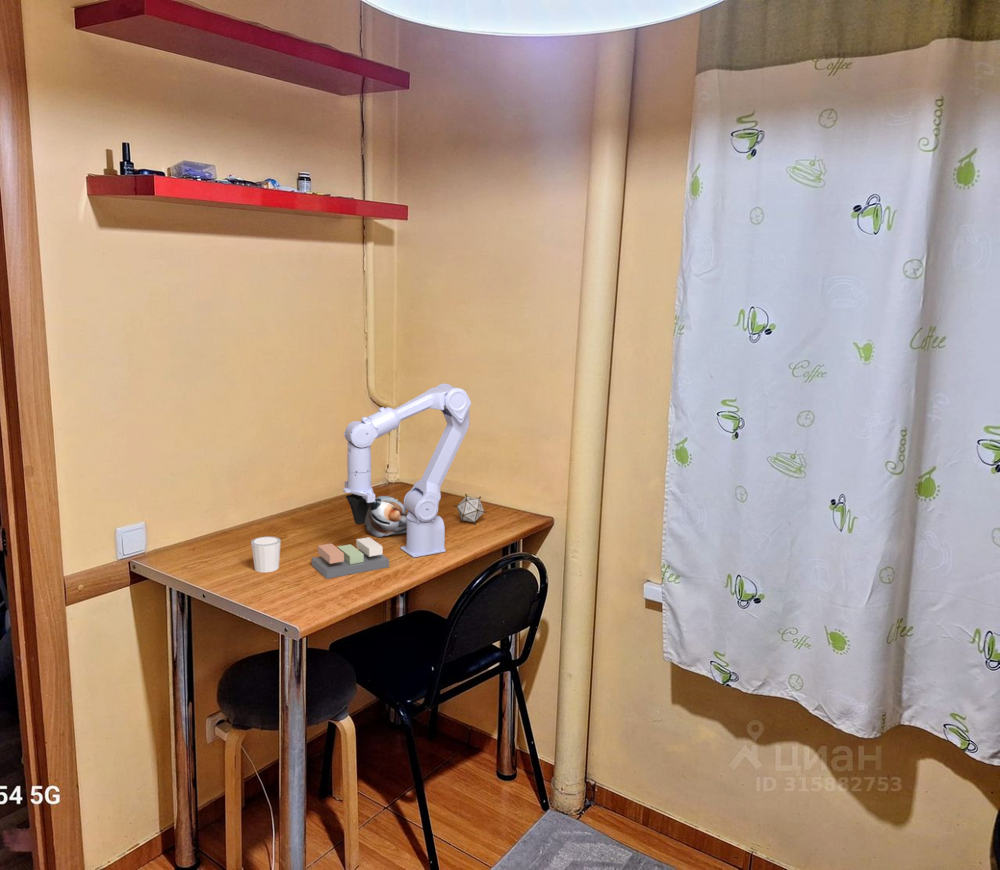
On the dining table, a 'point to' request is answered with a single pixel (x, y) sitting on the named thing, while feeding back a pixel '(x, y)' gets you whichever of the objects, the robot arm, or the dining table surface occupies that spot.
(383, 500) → the lucky cat figurine
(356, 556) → the sage button
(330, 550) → the terracotta button
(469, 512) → the game die
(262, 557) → the shot glass
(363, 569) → the button panel
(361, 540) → the off-white button
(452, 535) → the dining table surface
